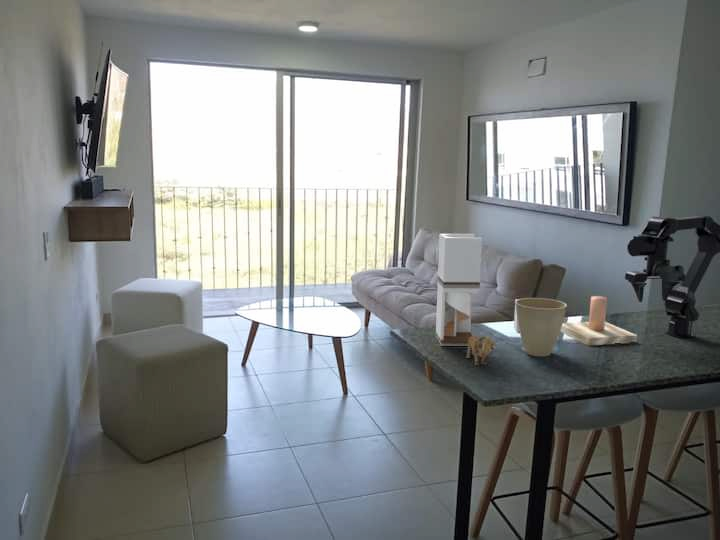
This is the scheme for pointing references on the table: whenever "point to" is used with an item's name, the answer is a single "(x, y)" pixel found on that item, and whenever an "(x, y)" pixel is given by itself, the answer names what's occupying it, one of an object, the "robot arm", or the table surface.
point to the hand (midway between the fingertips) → (652, 301)
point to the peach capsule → (597, 313)
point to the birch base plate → (597, 334)
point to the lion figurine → (480, 347)
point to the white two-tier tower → (457, 286)
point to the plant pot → (539, 324)
